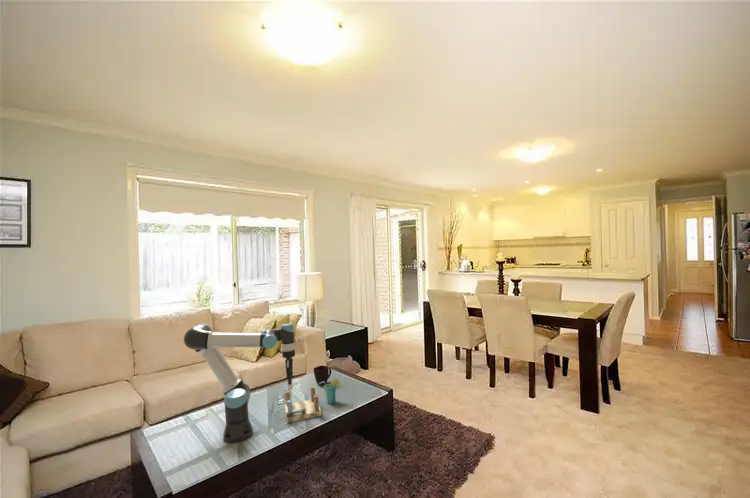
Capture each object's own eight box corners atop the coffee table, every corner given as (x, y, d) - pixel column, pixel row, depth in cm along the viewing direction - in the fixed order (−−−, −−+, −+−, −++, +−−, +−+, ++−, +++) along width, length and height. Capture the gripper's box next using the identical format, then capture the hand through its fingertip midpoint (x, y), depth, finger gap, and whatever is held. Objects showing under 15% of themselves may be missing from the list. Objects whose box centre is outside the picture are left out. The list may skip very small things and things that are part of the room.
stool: (286, 422, 207) (285, 403, 207) (285, 408, 226) (283, 391, 226) (321, 415, 213) (320, 396, 213) (316, 402, 232) (315, 385, 232)
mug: (312, 384, 265) (311, 368, 265) (327, 379, 275) (326, 363, 275) (320, 387, 258) (319, 371, 258) (335, 381, 268) (334, 365, 268)
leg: (305, 411, 214) (304, 397, 214) (305, 412, 211) (304, 399, 211) (288, 414, 211) (287, 400, 211) (288, 416, 209) (287, 402, 209)
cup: (323, 408, 223) (321, 383, 223) (317, 404, 229) (315, 380, 229) (342, 400, 232) (340, 377, 232) (336, 397, 238) (334, 375, 238)
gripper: (293, 352, 210) (295, 392, 210) (296, 346, 223) (298, 384, 223) (280, 353, 210) (282, 393, 209) (284, 347, 223) (285, 385, 222)
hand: (290, 389), depth 216 cm, fingers closed
